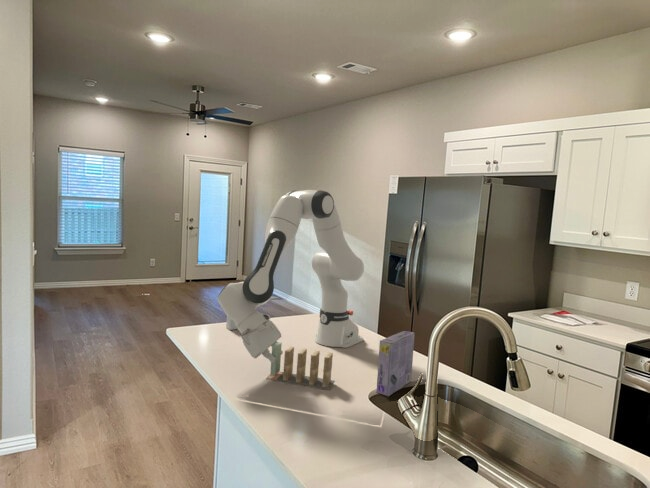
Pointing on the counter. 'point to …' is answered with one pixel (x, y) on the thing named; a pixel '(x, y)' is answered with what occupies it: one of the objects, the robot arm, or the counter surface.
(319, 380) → the charcoal mat
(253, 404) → the counter surface
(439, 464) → the counter surface
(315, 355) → the maple domino
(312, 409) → the counter surface
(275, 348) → the sage domino
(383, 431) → the counter surface
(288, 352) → the maple domino
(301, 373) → the maple domino
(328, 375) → the maple domino
